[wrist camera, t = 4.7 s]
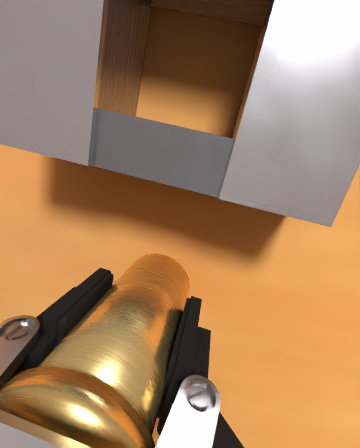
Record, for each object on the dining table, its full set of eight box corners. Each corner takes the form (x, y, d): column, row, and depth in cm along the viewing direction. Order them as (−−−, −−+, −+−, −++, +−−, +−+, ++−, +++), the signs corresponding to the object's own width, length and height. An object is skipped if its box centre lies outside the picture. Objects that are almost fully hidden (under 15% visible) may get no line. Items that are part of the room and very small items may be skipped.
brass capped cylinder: (202, 261, 13) (166, 450, 4) (184, 325, 14) (128, 569, 6) (129, 240, 13) (-37, 369, 5) (118, 303, 15) (-29, 496, 6)
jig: (380, -20, 9) (508, -164, 5) (292, 205, 12) (331, 226, 8) (75, -66, 11) (-13, -210, 6) (62, 148, 14) (-5, 142, 9)
